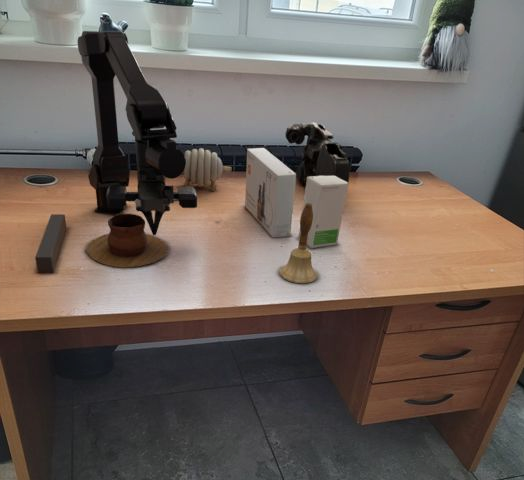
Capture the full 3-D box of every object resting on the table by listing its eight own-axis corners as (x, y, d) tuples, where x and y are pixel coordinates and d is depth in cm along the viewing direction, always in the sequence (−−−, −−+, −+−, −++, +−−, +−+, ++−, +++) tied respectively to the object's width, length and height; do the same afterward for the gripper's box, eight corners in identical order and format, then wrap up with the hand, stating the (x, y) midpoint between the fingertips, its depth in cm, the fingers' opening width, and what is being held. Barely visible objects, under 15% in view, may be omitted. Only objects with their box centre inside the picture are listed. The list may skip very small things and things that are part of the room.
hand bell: (277, 265, 116) (286, 196, 107) (313, 266, 117) (324, 198, 108) (281, 283, 110) (290, 211, 100) (319, 284, 111) (332, 213, 101)
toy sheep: (173, 180, 155) (172, 142, 148) (228, 182, 158) (230, 145, 151) (173, 192, 147) (173, 153, 140) (232, 194, 150) (234, 155, 143)
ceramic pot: (184, 253, 117) (183, 224, 112) (116, 276, 106) (113, 244, 102) (137, 226, 126) (135, 198, 122) (71, 245, 115) (66, 215, 111)
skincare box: (242, 206, 143) (246, 147, 134) (260, 205, 145) (265, 147, 135) (271, 238, 128) (277, 174, 118) (291, 236, 130) (299, 173, 120)
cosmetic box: (310, 249, 125) (320, 185, 115) (296, 238, 129) (305, 176, 120) (338, 244, 128) (350, 182, 119) (324, 234, 133) (334, 173, 123)
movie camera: (274, 171, 168) (283, 115, 157) (325, 175, 172) (337, 120, 162) (299, 211, 145) (311, 148, 134) (357, 214, 149) (374, 154, 138)
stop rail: (38, 272, 104) (35, 257, 102) (53, 228, 121) (51, 214, 119) (53, 272, 105) (50, 257, 103) (66, 228, 122) (64, 214, 120)
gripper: (101, 175, 98) (109, 250, 107) (199, 177, 101) (199, 249, 110) (104, 158, 106) (111, 229, 116) (194, 160, 110) (195, 228, 119)
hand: (154, 234), depth 115 cm, fingers closed
